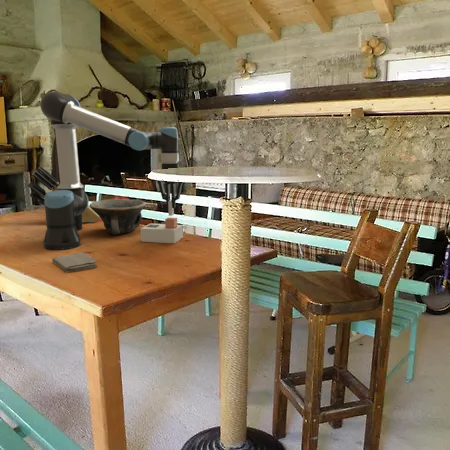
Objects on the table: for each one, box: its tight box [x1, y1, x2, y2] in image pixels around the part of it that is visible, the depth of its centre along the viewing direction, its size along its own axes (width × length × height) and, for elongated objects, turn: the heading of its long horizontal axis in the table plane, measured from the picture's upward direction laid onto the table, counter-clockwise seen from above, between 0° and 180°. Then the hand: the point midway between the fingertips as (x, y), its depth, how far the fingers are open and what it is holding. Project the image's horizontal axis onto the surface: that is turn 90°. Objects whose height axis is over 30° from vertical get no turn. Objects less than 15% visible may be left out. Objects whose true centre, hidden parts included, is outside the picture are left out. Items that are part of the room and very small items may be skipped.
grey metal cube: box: [146, 223, 159, 228], centre depth 206 cm, size 4×4×4 cm
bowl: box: [89, 198, 147, 235], centre depth 220 cm, size 27×26×15 cm
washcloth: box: [51, 252, 98, 273], centre depth 165 cm, size 12×18×3 cm, turn 37°
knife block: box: [27, 166, 100, 224], centre depth 242 cm, size 11×35×31 cm, turn 107°
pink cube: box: [164, 217, 178, 229], centre depth 204 cm, size 4×4×4 cm
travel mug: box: [75, 214, 83, 232], centre depth 226 cm, size 8×8×20 cm
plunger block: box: [140, 223, 184, 244], centre depth 206 cm, size 12×16×6 cm
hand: (171, 215), depth 203 cm, fingers closed
